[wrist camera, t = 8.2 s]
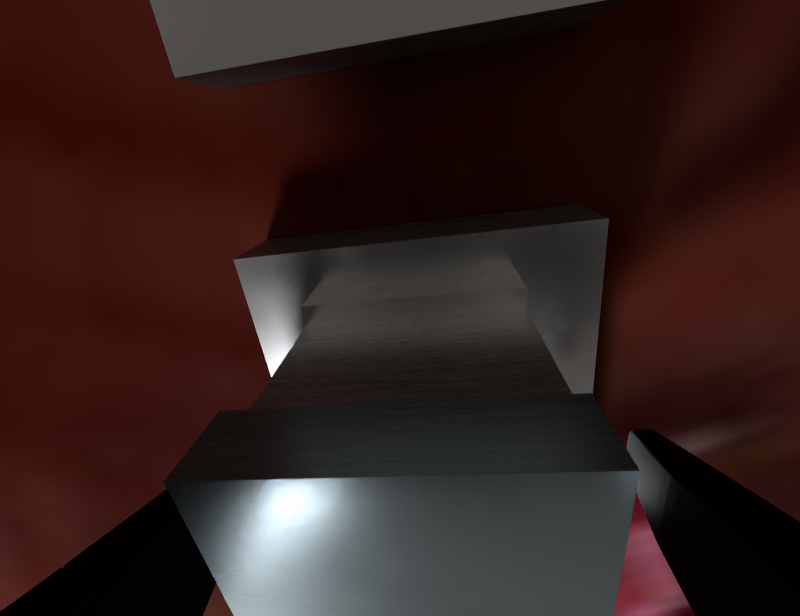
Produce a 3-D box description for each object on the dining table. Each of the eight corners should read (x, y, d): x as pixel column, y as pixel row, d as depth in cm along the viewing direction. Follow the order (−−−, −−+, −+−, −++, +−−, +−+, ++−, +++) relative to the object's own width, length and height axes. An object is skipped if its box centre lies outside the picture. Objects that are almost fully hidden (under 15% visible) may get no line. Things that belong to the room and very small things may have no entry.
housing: (361, 482, 12) (305, 750, 7) (316, 287, 10) (163, 482, 4) (515, 479, 12) (585, 771, 6) (515, 269, 9) (640, 471, 4)
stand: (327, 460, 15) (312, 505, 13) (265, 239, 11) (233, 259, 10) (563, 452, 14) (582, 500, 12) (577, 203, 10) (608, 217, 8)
